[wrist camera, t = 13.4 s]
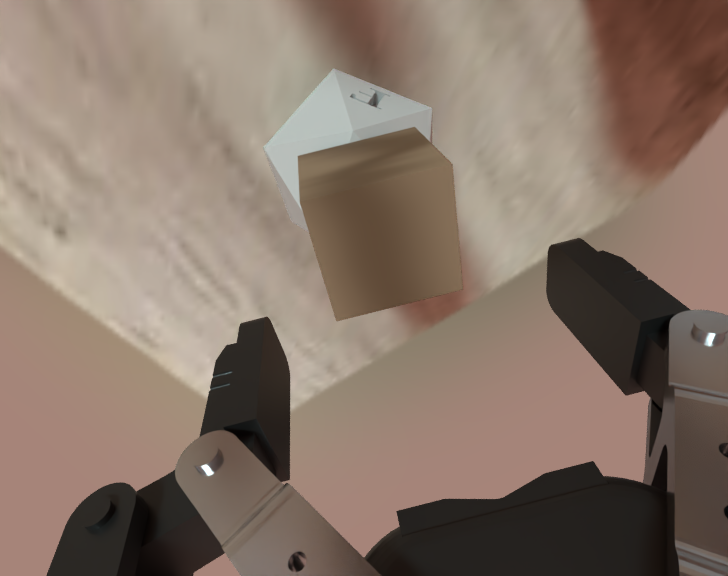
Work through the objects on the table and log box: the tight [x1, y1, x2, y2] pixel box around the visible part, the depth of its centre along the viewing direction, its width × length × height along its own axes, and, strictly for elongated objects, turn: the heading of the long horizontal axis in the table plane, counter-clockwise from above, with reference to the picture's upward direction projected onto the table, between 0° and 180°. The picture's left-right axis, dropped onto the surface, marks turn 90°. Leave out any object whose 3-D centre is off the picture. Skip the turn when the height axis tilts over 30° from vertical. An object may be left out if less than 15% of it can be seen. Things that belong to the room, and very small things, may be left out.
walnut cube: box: [298, 127, 463, 321], centre depth 17 cm, size 5×5×5 cm
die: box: [263, 68, 432, 232], centre depth 22 cm, size 8×9×10 cm
